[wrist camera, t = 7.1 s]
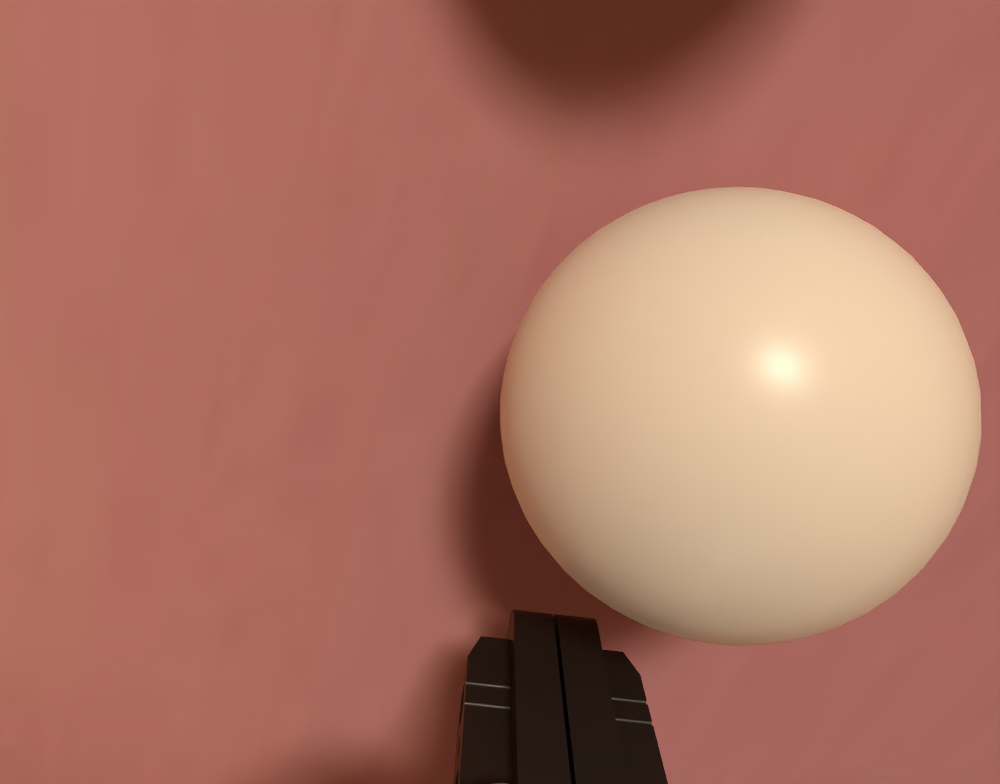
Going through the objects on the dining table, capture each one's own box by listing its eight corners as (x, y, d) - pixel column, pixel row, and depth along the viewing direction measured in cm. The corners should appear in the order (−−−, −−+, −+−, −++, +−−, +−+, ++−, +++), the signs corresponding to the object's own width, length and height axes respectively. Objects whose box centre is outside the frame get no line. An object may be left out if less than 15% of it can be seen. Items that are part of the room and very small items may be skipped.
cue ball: (1171, 573, 5) (960, 18, 8) (388, 583, 7) (454, 142, 10) (979, 683, 10) (895, 322, 12) (560, 669, 12) (569, 362, 14)
